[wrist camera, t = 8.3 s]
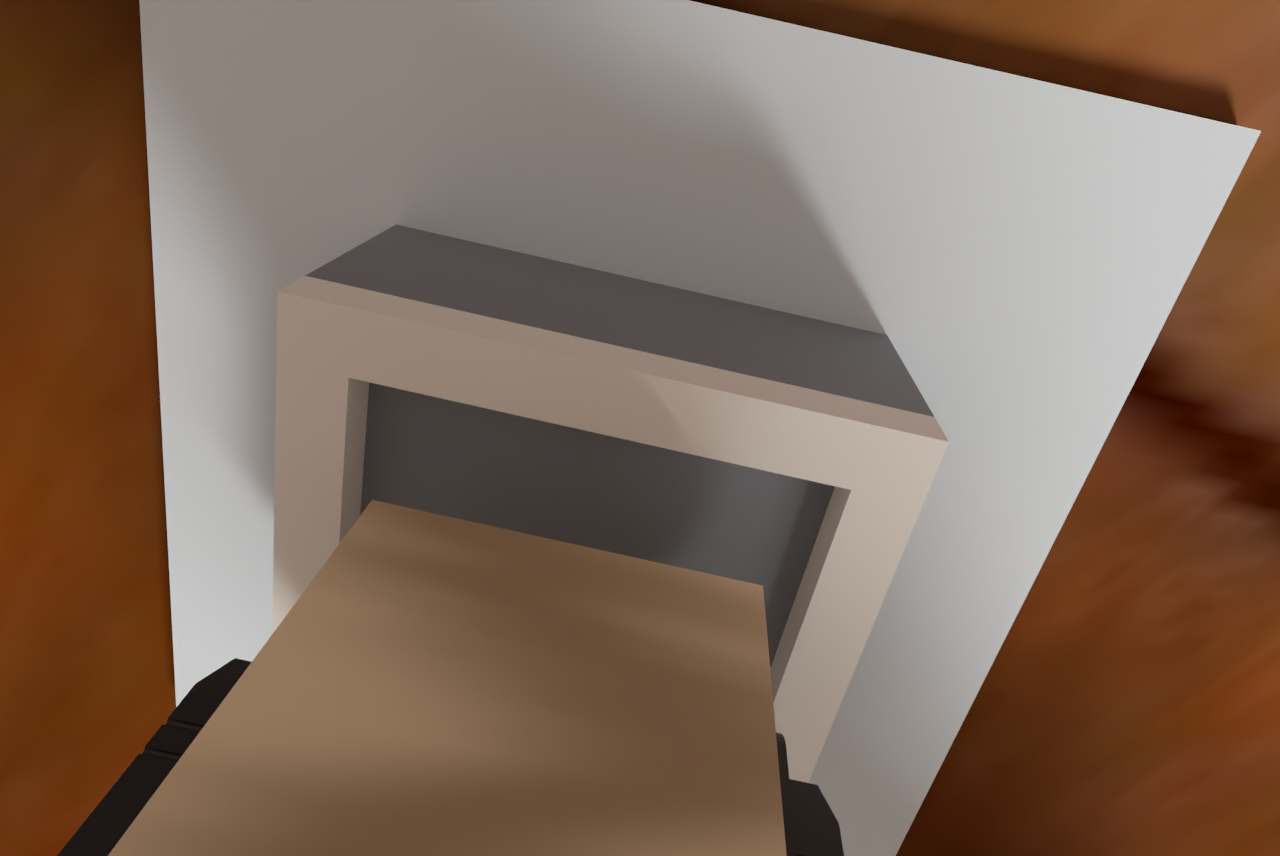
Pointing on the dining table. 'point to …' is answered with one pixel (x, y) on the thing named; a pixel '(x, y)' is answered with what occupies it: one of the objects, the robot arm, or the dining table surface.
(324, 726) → the maple block
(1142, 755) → the dining table surface
